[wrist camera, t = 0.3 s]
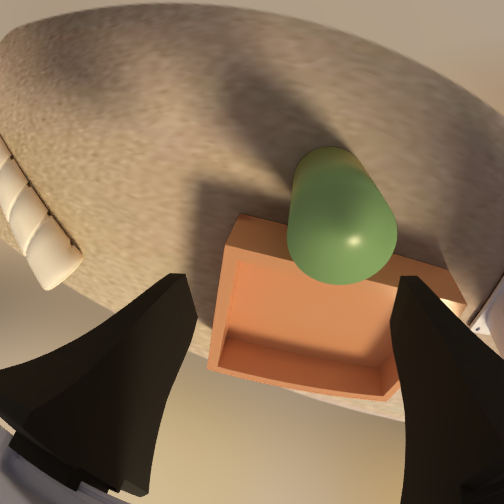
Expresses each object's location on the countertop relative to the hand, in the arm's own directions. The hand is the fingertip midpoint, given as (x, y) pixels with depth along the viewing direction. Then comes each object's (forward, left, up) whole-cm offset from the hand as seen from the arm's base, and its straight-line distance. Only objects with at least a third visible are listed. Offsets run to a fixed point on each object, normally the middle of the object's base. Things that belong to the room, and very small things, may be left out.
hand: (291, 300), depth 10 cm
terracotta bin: (-5, +8, -10) cm, 14 cm away
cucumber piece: (-2, -1, -10) cm, 10 cm away
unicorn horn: (+25, +3, -10) cm, 28 cm away
